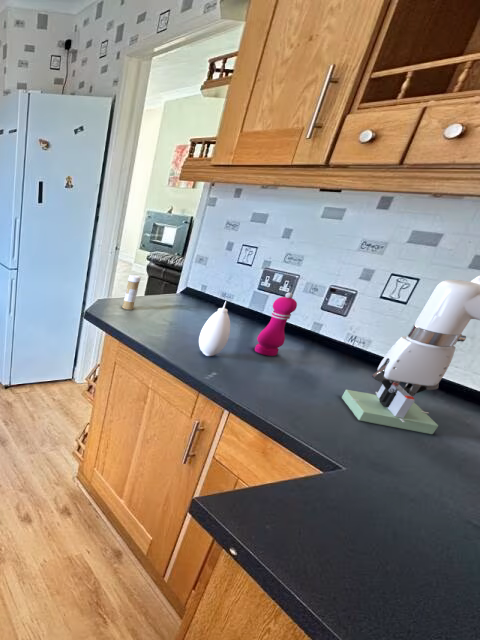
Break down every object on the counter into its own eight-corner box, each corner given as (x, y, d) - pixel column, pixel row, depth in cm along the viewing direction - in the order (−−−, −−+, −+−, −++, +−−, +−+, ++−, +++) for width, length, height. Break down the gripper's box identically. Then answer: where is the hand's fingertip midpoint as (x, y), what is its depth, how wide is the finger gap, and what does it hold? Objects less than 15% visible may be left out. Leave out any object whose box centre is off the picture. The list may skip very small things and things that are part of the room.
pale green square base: (407, 406, 107) (413, 398, 106) (439, 438, 95) (446, 429, 93) (336, 394, 112) (341, 385, 111) (358, 423, 99) (363, 414, 98)
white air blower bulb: (192, 348, 137) (209, 295, 128) (218, 351, 135) (237, 298, 126) (196, 358, 130) (214, 302, 121) (224, 361, 128) (244, 305, 120)
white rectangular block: (376, 395, 107) (386, 377, 104) (383, 396, 106) (394, 378, 104) (394, 416, 98) (406, 397, 95) (403, 418, 97) (415, 399, 95)
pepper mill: (257, 355, 133) (281, 294, 124) (249, 346, 139) (272, 288, 130) (282, 357, 132) (308, 297, 122) (273, 349, 138) (298, 290, 128)
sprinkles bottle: (121, 306, 175) (128, 274, 168) (133, 307, 174) (140, 275, 167) (122, 309, 171) (129, 276, 164) (134, 310, 170) (141, 277, 163)
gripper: (468, 336, 93) (422, 405, 102) (381, 325, 99) (345, 391, 108) (489, 349, 87) (438, 421, 96) (395, 336, 93) (355, 405, 101)
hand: (389, 405), depth 102 cm, fingers closed on white rectangular block
